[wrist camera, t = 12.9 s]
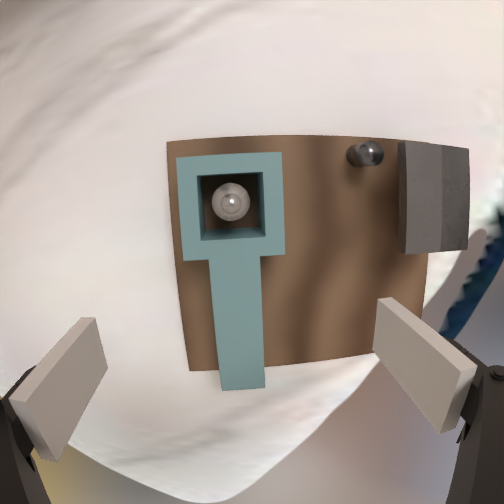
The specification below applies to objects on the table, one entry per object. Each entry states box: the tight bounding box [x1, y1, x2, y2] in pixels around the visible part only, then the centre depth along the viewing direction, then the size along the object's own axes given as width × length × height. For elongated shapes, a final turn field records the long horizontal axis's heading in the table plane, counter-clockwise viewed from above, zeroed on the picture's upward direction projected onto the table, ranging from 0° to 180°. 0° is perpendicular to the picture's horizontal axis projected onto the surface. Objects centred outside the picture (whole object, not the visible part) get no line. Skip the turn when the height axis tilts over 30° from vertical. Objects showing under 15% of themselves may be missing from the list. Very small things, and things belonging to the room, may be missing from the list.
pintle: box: [212, 183, 250, 221], centre depth 23 cm, size 2×2×9 cm
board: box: [167, 135, 428, 371], centre depth 28 cm, size 24×21×1 cm
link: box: [176, 152, 285, 391], centre depth 25 cm, size 18×7×5 cm, turn 3°
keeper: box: [346, 140, 470, 255], centre depth 24 cm, size 8×8×7 cm
